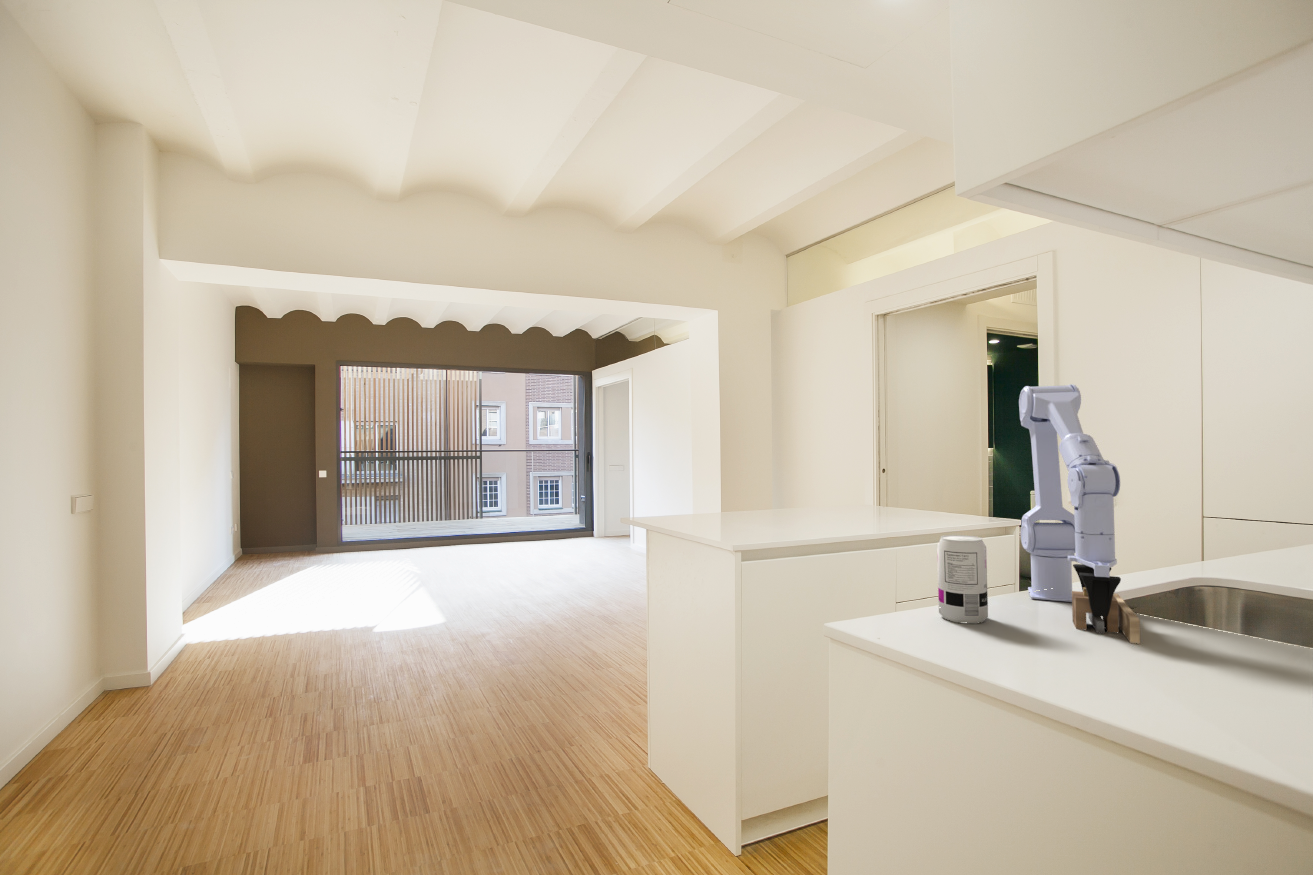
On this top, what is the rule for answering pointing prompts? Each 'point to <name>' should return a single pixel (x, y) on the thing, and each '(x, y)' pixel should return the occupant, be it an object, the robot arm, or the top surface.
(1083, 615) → the cabinet block
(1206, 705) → the top surface
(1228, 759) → the top surface
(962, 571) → the supplement can
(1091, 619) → the cleat board
